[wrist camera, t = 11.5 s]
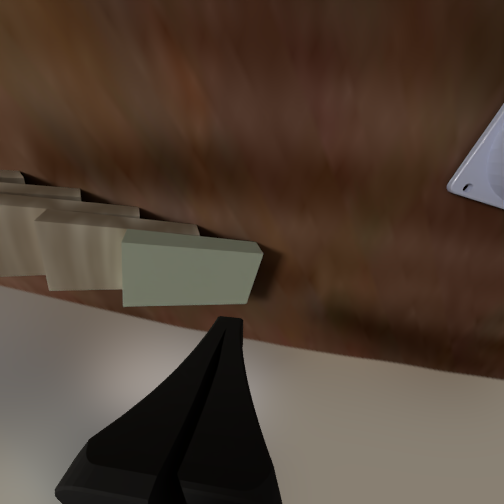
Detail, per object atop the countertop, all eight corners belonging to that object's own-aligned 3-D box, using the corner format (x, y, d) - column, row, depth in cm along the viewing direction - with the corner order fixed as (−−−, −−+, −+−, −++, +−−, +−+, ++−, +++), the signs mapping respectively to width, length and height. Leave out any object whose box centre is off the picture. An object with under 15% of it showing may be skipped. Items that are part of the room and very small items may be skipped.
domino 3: (139, 216, 15) (-60, 200, 11) (138, 271, 18) (-28, 277, 13) (138, 207, 17) (-39, 189, 12) (137, 259, 19) (-13, 261, 14)
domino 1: (263, 254, 15) (121, 242, 12) (246, 303, 18) (123, 306, 14) (255, 242, 17) (127, 228, 13) (240, 289, 19) (127, 288, 16)
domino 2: (199, 235, 15) (33, 220, 11) (190, 287, 18) (49, 290, 14) (196, 224, 17) (47, 208, 13) (188, 274, 19) (59, 274, 15)
